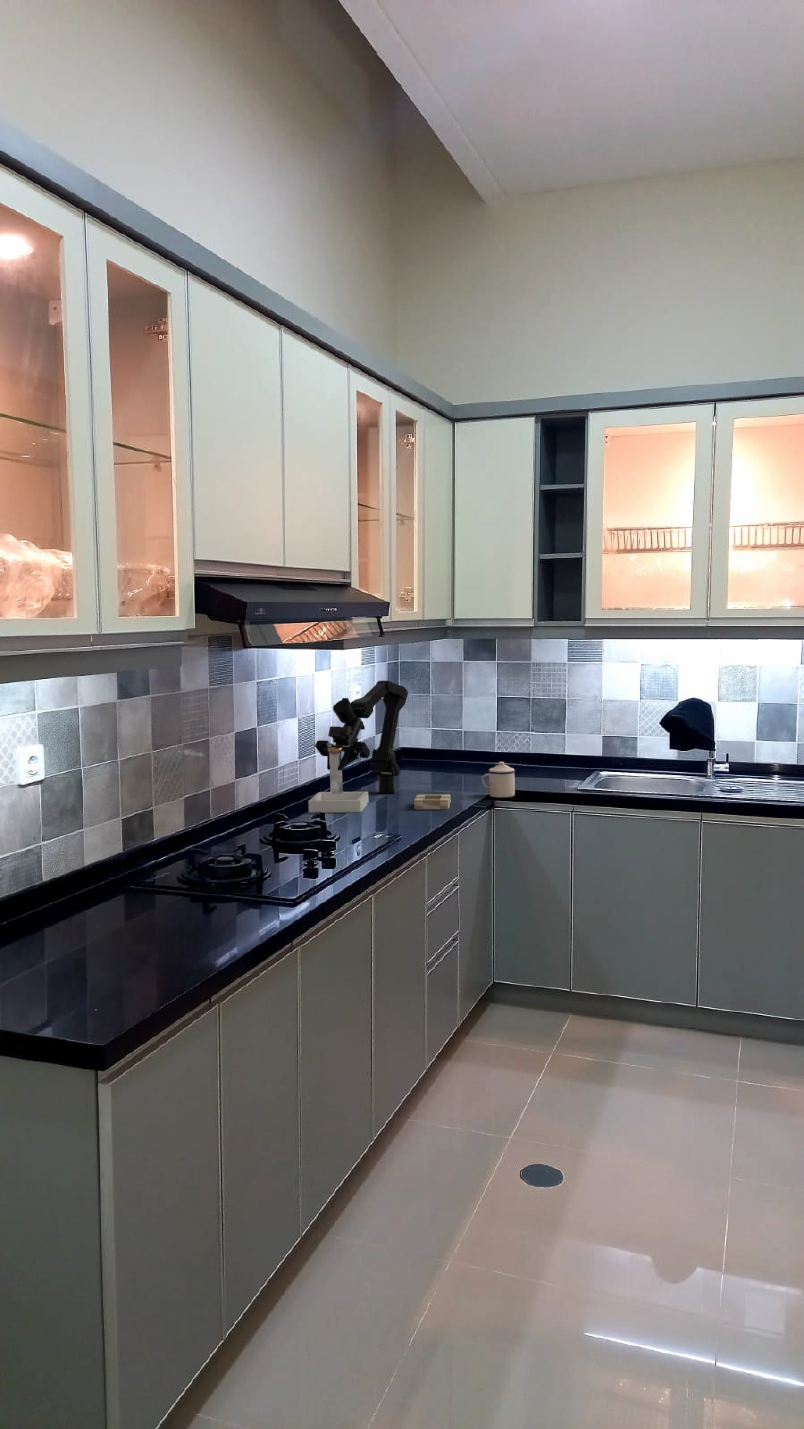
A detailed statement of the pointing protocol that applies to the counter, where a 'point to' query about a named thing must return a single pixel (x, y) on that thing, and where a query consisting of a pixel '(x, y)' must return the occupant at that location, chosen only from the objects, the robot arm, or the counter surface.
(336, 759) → the metal pin
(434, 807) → the block
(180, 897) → the counter surface
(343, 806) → the tray
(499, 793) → the teacup with lid
